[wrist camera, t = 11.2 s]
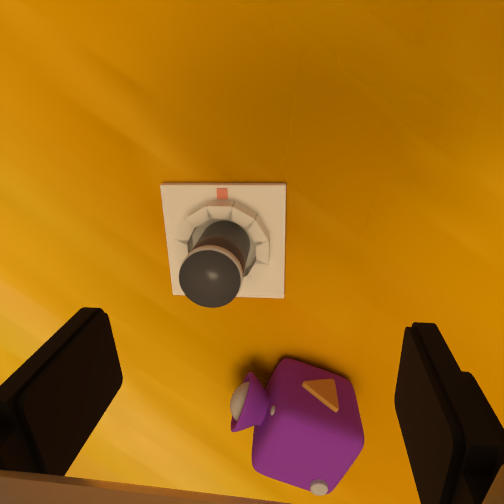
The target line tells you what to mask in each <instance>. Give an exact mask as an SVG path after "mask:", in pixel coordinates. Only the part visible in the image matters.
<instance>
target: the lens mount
mask: <svg viewBox="0 0 504 504" xmlns="http://www.w3.org/2000/svg"><path fill="white" fill-rule="evenodd" d="M160 187H161V196H162V205H163V213H164V222H165V230H166V239H167V248H168V256H169V265H170V273H171V282H172V290H173V295H185V294H184V292H183V291H182V289H181V286H180V283H179V270H180V266H181V264H182V262H183V261H184V259H185V257H186V256H187V255H188V254H189V253H190V252H191V251H192V249H193V247H194V246H195V244H196V243H197V241H198V240H199V238H200V237H201V235H202V234H203V232H204V231H205V229H206V228H207V227H208V226H209V225H211V224H212V223H214V222H217V221H231V222H234V223H236V224H238V225H239V226H241V227H242V228H243V229H244V230H245V232H246V233H247V235H248V237H249V240H250V250H249V254H248V258H247V262H246V266H245V269H244V273H243V281H242V285H241V289H240V291H239V293H238V294H237V296H236V297H258V298H284V269H285V214H286V183H162V184H161V185H160Z"/></svg>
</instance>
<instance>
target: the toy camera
mask: <svg viewBox="0 0 504 504" xmlns="http://www.w3.org/2000/svg"><path fill="white" fill-rule="evenodd" d="M230 409H231V413H232V420H231V431H232V432H237V431H241V430H243V429H246V428H249V427H251V426H254V434H253V445H252V465H253V468H254V469H255V470H256V471H257V472H259V473H260V474H263V475H265V476H268V477H270V478H273V479H276V480H279V481H282V482H285V483H288V484H291V485H294V486H297V487H300V488H303V489H305V490H308V491H311V492H312V493H313V494H315V495H324V494H328V493H330V492H331V491H332V490H333V489H334V488H335V487H336V486H337V484H338V483H339V482H340V480H341V479H342V478H343V476H344V475H345V473H346V472H347V471H348V469H349V468H350V466H351V465H352V464H353V462H354V461H355V459H356V458H357V456H358V455H359V454H360V452H361V450H362V448H363V445H364V432H363V427H362V422H361V418H360V413H359V409H358V404H357V400H356V396H355V392H354V388H353V386H352V384H351V382H350V381H349V380H347V379H345V378H343V377H341V376H339V375H336V374H333V373H331V372H328V371H325V370H322V369H320V368H317V367H314V366H311V365H308V364H306V363H303V362H300V361H297V360H293V359H289V358H286V359H283V360H282V361H281V362H280V363H279V364H278V366H277V367H276V369H275V371H274V373H273V374H272V376H271V378H270V380H269V382H268V384H267V386H266V388H265V389H264V387H263V386H262V384H261V383H260V381H259V380H258V379H257V377H256V376H255V375H254V374H253V373H252V372H249V373H248V374H247V375H246V377H245V379H244V381H243V383H242V384H241V385H239V386H238V387H237V388H236V389H235V391H234V393H233V395H232V398H231V403H230Z"/></svg>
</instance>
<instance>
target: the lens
mask: <svg viewBox="0 0 504 504" xmlns="http://www.w3.org/2000/svg"><path fill="white" fill-rule="evenodd" d="M249 250H250V240H249V237H248V235H247V233H246V232H245V230H244V229H243V228H242V227H241V226H239V225H238V224H236V223H234V222H231V221H217V222H214V223H212V224H211V225H209V226H208V227H207V228H206V229H205V231H204V232H203V234H202V235H201V237H200V238H199V240H198V241H197V243H196V244H195V246H194V247H193V249H192V251H191V252H190V253H189V254H188V255H187V256H186V257H185V259H184V261H183V262H182V264H181V266H180V270H179V283H180V286H181V289H182V291H183V292H184V294H185V295H186V296H187V297H188V298H189V299H190V300H191V301H193V302H194V303H196V304H198V305H201V306H204V307H210V308H215V307H221V306H224V305H226V304H228V303H229V302H231V301H232V300H233V299H234V298H235V297H236V296H237V294H238V293H239V291H240V289H241V285H242V281H243V273H244V269H245V266H246V262H247V258H248V254H249Z"/></svg>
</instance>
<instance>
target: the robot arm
mask: <svg viewBox="0 0 504 504" xmlns="http://www.w3.org/2000/svg"><path fill="white" fill-rule="evenodd" d="M122 381H123V376H122V371H121V367H120V363H119V359H118V354H117V350H116V346H115V342H114V338H113V333H112V329H111V325H110V321H109V317H108V314H107V313H104V311H103V310H102V309H101V308H89V307H84V308H81V309H80V310H79V311H78V312H77V313H76V314H75V315H74V316H73V317H72V318H71V319H69V320H68V321H67V322H66V323H65V324H64V325H63V326H62V327H61V328H60V329H59V330H58V331H57V332H56V333H55V334H54V335H53V336H52V337H51V338H50V339H49V340H48V341H46V342H45V343H44V344H43V345H42V346H41V347H40V348H39V349H38V350H37V351H36V352H35V353H34V354H33V355H32V356H31V357H30V358H29V359H28V360H27V361H26V362H25V363H23V364H22V365H21V366H20V367H19V368H18V369H17V370H16V371H15V372H14V373H13V374H12V375H11V376H10V377H9V378H8V379H7V380H6V381H5V382H4V383H3V384H2V385H0V504H290V503H282V502H274V501H266V500H258V499H250V498H242V497H234V496H226V495H218V494H210V493H202V492H193V491H185V490H177V489H169V488H160V487H152V486H144V485H135V484H127V483H118V482H110V481H101V480H92V479H83V478H75V477H66V476H64V475H65V474H66V472H67V471H68V469H69V467H70V466H71V464H72V463H73V461H74V460H75V458H76V456H77V455H78V453H79V452H80V450H81V449H82V447H83V445H84V444H85V442H86V441H87V439H88V438H89V436H90V434H91V433H92V431H93V430H94V428H95V427H96V425H97V423H98V422H99V420H100V419H101V417H102V416H103V414H104V412H105V411H106V409H107V408H108V406H109V405H110V403H111V401H112V400H113V398H114V397H115V395H116V394H117V392H118V390H119V389H120V387H121V385H122ZM395 409H396V413H397V417H398V420H399V424H400V428H401V431H402V435H403V439H404V443H405V446H406V450H407V454H408V457H409V461H410V465H411V468H412V472H413V476H414V480H415V483H416V487H417V491H418V494H419V498H420V502H421V504H504V428H503V427H502V425H501V423H500V421H499V420H498V418H497V416H496V415H495V413H494V411H493V409H492V408H491V406H490V404H489V402H488V401H487V399H486V397H485V395H484V394H483V392H482V390H481V388H480V387H479V385H478V383H477V381H476V380H475V378H474V377H473V375H472V374H471V373H469V372H463V371H461V370H460V368H459V366H458V364H457V362H456V360H455V359H454V357H453V355H452V353H451V351H450V349H449V348H448V346H447V344H446V342H445V340H444V338H443V336H442V335H441V333H440V331H439V329H438V327H437V326H436V324H434V323H418V322H414V323H413V324H412V327H406V328H405V332H404V338H403V345H402V351H401V358H400V365H399V371H398V378H397V384H396V391H395Z"/></svg>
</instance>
